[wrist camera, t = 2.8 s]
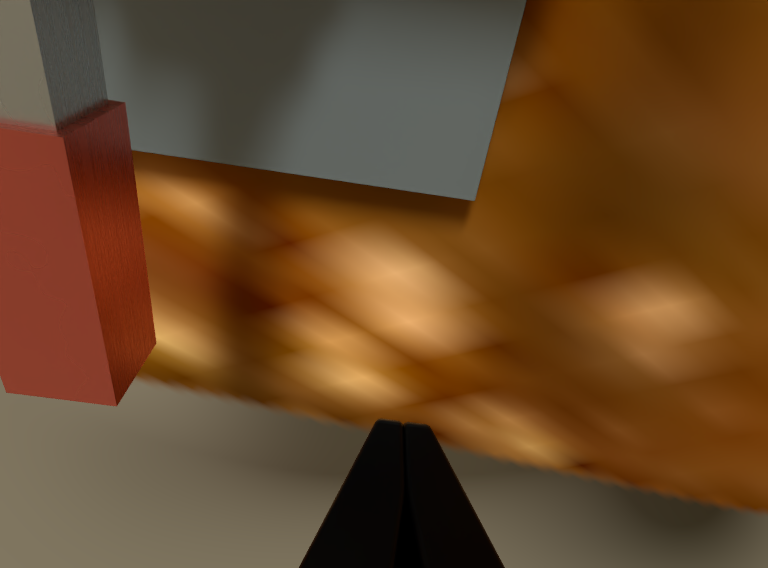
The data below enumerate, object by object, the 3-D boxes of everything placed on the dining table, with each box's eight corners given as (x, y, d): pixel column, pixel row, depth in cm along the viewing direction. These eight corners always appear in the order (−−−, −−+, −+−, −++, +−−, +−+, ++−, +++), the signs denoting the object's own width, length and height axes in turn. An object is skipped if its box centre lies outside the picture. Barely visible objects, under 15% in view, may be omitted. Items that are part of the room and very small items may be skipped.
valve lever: (-223, -744, 5) (-544, -1094, 3) (33, -690, 5) (-149, -996, 3) (57, 330, 12) (1, 391, 11) (160, 343, 12) (121, 407, 11)
